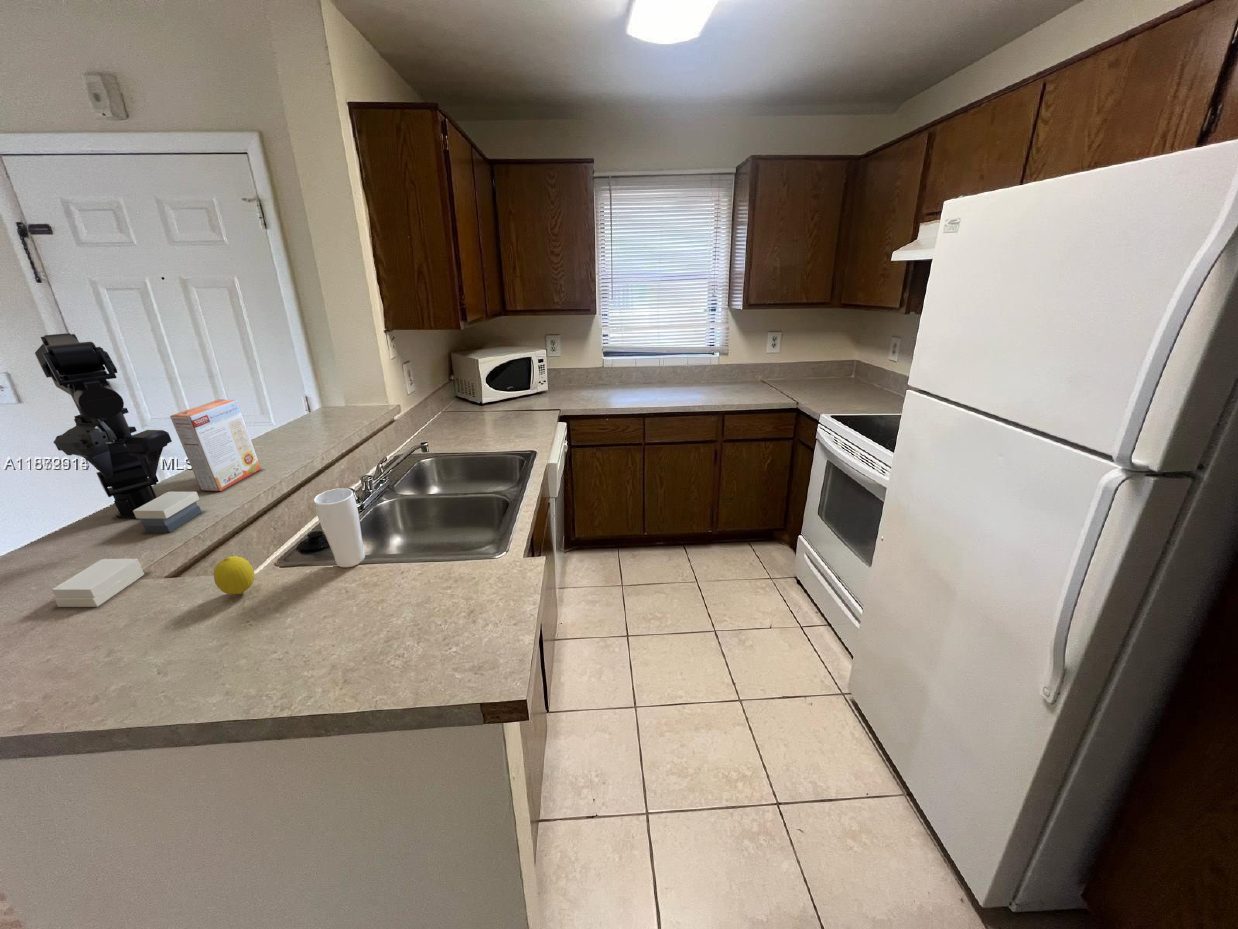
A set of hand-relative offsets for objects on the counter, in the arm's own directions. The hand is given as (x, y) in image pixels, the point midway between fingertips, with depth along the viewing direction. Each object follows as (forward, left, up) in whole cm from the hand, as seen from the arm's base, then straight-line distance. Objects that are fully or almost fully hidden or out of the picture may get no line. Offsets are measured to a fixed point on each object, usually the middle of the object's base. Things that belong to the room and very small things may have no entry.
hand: (131, 477), depth 101 cm
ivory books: (+21, +9, -13) cm, 26 cm away
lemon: (+22, +35, -13) cm, 43 cm away
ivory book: (-3, +2, -9) cm, 10 cm away
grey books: (-3, +2, -13) cm, 14 cm away
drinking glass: (+12, +50, -13) cm, 53 cm away
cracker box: (-25, -1, -13) cm, 28 cm away
